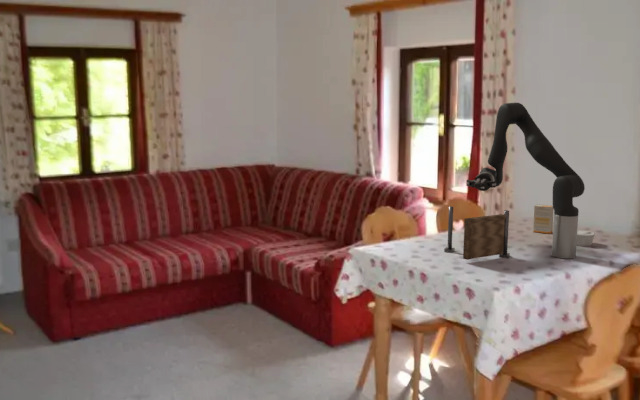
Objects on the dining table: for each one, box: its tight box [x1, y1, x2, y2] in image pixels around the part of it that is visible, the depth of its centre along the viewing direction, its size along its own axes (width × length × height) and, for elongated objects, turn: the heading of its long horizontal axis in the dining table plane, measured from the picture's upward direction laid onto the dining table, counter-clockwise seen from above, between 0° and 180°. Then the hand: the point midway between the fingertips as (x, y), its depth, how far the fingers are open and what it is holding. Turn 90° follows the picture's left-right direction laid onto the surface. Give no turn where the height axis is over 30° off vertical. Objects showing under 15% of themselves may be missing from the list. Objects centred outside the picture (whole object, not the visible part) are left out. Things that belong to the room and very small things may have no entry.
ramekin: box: [576, 229, 596, 247], centre depth 294 cm, size 11×11×5 cm
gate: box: [462, 213, 506, 261], centre depth 264 cm, size 19×2×16 cm, turn 119°
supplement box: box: [532, 203, 554, 235], centre depth 318 cm, size 8×5×13 cm, turn 58°
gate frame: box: [443, 206, 511, 259], centre depth 274 cm, size 26×4×19 cm, turn 67°
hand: (477, 186), depth 273 cm, fingers closed
